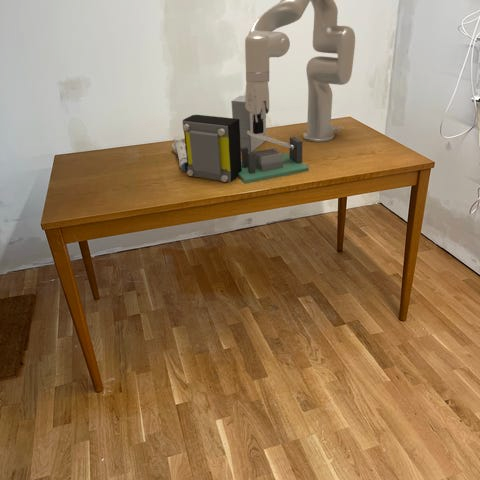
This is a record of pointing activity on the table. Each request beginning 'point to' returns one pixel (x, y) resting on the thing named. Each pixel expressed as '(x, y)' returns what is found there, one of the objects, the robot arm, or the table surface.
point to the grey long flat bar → (271, 140)
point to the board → (273, 173)
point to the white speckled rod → (180, 152)
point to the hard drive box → (246, 124)
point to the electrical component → (213, 147)
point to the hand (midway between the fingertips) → (258, 132)
